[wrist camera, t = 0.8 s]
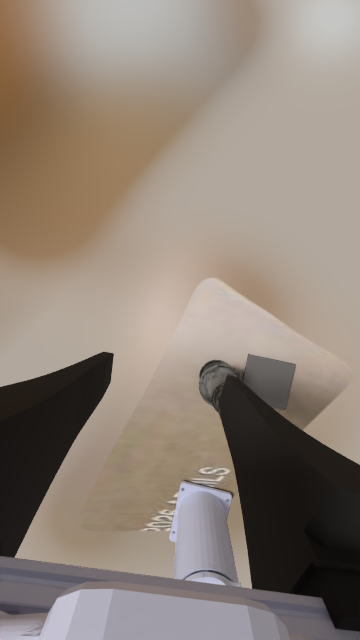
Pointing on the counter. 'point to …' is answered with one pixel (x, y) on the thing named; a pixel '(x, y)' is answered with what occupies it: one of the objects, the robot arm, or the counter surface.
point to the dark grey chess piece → (214, 381)
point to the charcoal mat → (269, 379)
